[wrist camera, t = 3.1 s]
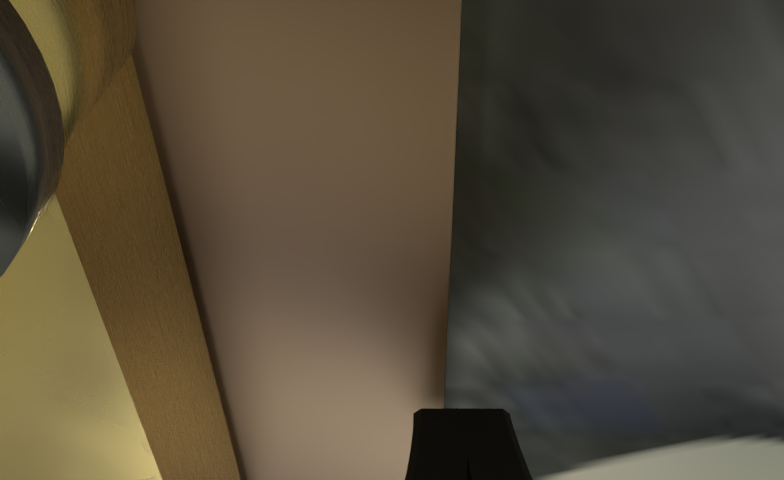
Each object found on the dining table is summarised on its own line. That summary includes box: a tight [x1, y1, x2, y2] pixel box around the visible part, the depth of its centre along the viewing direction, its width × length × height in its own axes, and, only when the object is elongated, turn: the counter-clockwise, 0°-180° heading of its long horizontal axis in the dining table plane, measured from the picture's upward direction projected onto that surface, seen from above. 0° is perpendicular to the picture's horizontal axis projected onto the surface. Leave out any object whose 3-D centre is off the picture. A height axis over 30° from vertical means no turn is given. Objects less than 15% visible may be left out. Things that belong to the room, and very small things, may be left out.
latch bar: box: [0, 0, 241, 480], centre depth 9 cm, size 12×4×3 cm, turn 1°
